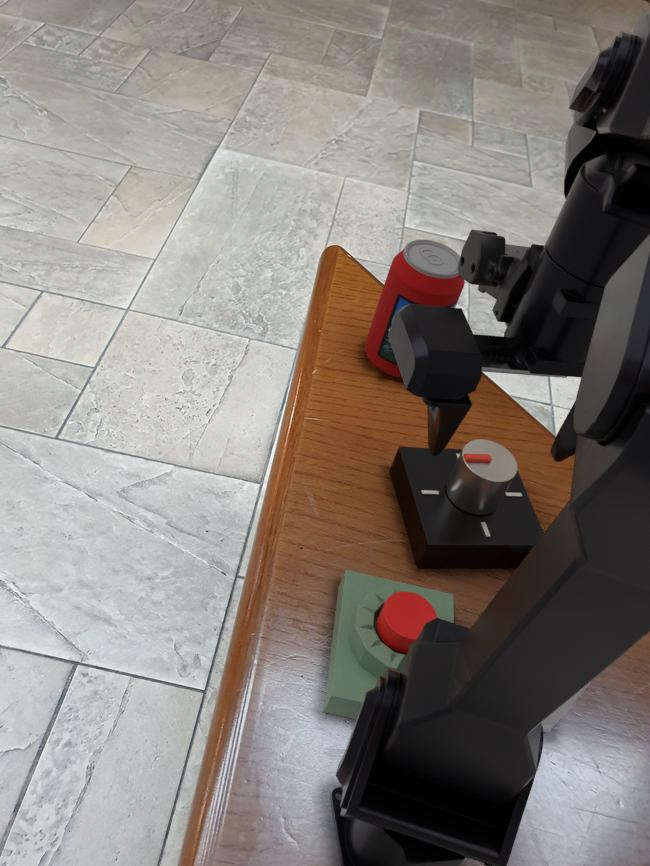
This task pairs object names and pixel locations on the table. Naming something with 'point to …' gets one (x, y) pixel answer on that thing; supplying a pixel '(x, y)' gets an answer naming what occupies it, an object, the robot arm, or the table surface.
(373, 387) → the table surface
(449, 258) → the beverage can
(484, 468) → the dimmer knob
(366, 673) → the switch block
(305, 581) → the table surface
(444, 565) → the dimmer panel
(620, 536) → the robot arm
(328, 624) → the table surface
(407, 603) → the light button
